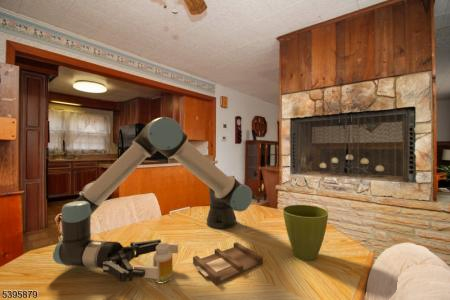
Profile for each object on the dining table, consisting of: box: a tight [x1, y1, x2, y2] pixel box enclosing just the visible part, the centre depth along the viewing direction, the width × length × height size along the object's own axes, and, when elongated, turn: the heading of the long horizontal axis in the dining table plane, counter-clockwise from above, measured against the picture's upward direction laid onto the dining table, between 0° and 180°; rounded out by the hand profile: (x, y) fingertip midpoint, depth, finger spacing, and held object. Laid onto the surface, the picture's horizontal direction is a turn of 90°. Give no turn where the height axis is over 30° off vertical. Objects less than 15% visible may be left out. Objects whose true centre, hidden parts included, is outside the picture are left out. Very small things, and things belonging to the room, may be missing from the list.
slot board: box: [192, 241, 264, 286], centre depth 71 cm, size 14×20×2 cm
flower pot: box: [282, 204, 329, 261], centre depth 76 cm, size 15×15×16 cm
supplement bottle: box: [152, 242, 174, 282], centre depth 64 cm, size 5×5×10 cm
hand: (168, 259), depth 63 cm, fingers open, 13 cm apart
